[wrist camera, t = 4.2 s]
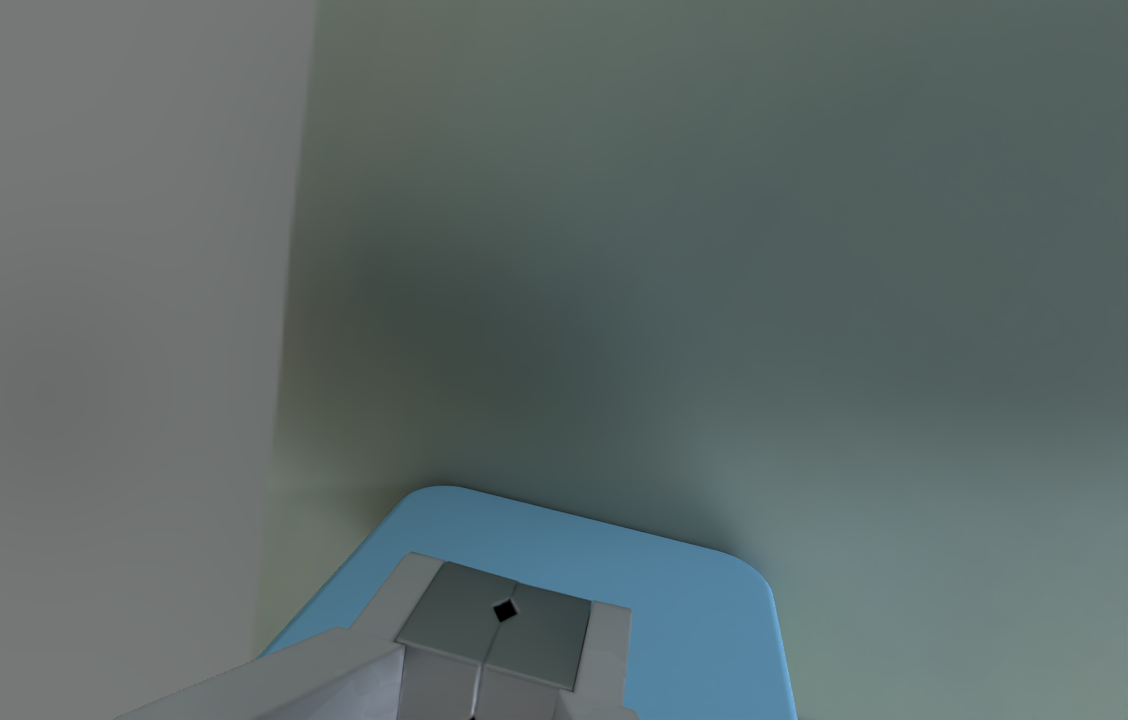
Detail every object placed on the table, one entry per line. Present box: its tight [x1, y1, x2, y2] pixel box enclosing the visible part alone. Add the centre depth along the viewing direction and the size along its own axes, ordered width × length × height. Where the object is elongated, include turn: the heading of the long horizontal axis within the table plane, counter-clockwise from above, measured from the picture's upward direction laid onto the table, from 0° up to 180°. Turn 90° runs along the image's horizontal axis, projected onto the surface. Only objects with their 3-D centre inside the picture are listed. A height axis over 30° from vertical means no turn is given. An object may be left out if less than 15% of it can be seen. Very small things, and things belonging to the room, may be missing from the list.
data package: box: [257, 486, 798, 720], centre depth 16 cm, size 12×4×12 cm, turn 81°
